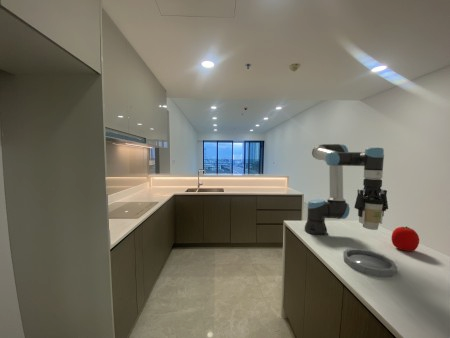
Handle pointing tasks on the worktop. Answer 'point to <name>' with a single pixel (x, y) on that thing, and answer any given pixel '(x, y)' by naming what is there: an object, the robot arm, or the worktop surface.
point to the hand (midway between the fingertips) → (370, 222)
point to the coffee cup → (372, 213)
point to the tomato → (405, 238)
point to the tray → (369, 262)
